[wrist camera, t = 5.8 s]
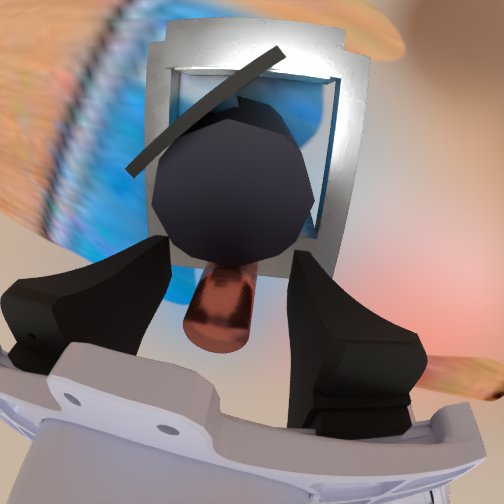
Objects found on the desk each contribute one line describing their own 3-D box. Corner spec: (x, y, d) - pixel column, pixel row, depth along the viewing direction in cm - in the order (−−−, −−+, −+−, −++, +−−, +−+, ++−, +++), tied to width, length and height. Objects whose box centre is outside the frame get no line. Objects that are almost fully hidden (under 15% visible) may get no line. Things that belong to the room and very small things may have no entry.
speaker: (172, 90, 15) (77, 110, 6) (264, 60, 14) (277, 29, 5) (212, 197, 19) (177, 309, 10) (297, 174, 18) (336, 275, 9)
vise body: (328, 269, 20) (337, 306, 16) (159, 251, 20) (137, 282, 17) (363, 53, 13) (387, 40, 9) (159, 39, 13) (129, 26, 10)
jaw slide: (303, 246, 19) (318, 363, 10) (184, 233, 19) (121, 335, 11) (310, 209, 18) (336, 314, 9) (183, 197, 18) (108, 285, 10)
